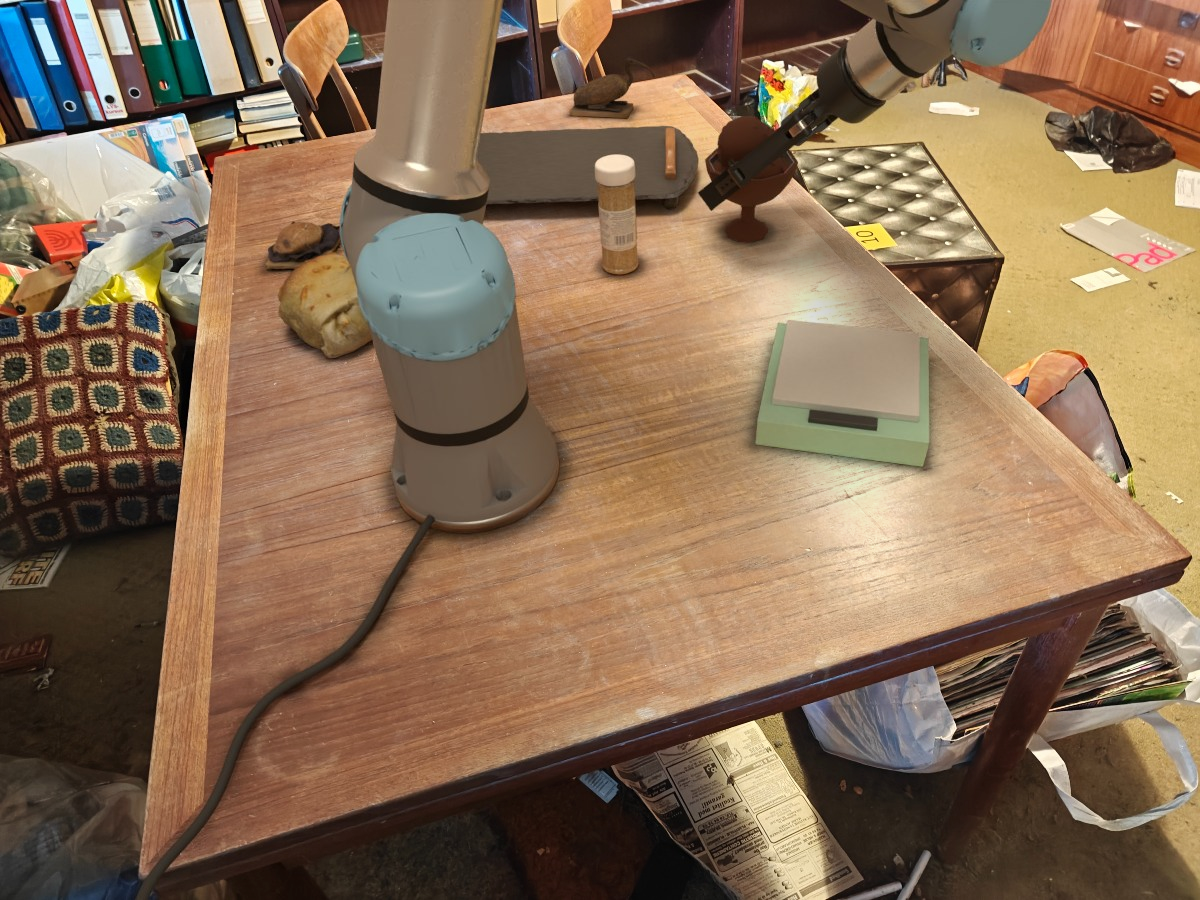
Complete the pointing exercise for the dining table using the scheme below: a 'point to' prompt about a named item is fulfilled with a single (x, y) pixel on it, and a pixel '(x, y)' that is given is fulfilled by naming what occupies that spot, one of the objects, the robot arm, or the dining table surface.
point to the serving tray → (584, 163)
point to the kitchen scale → (847, 392)
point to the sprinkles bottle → (617, 213)
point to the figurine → (605, 95)
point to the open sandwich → (302, 244)
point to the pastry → (324, 305)
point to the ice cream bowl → (762, 188)
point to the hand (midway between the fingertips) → (729, 181)
